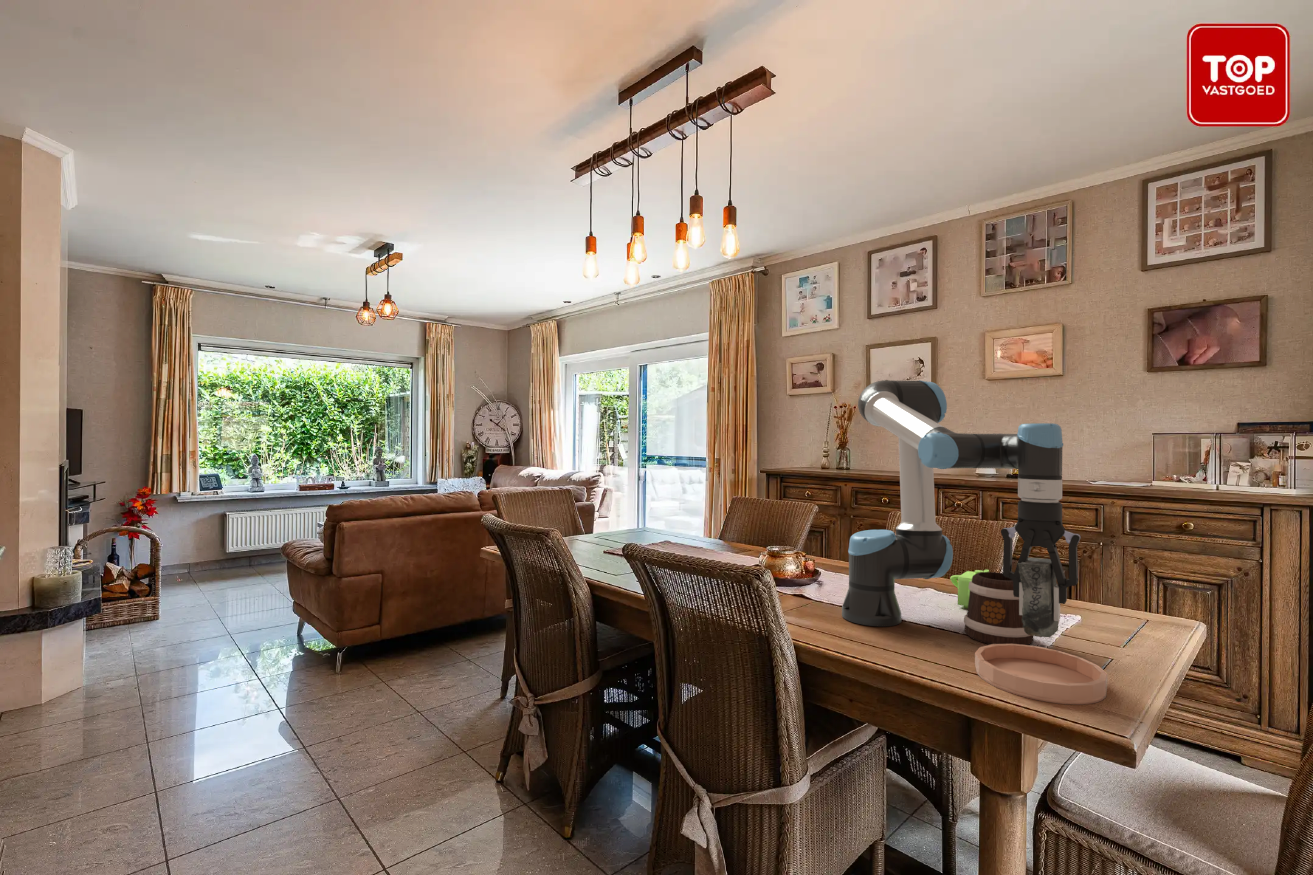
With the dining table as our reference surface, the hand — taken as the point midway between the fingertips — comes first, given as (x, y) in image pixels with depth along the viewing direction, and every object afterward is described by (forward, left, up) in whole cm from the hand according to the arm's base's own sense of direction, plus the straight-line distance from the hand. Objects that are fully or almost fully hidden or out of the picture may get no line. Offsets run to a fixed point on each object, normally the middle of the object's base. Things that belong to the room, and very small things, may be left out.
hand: (1039, 616), depth 121 cm
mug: (-9, +24, -13) cm, 29 cm away
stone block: (-2, 0, -4) cm, 4 cm away
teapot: (-21, +50, -13) cm, 56 cm away
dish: (0, 0, -13) cm, 13 cm away
